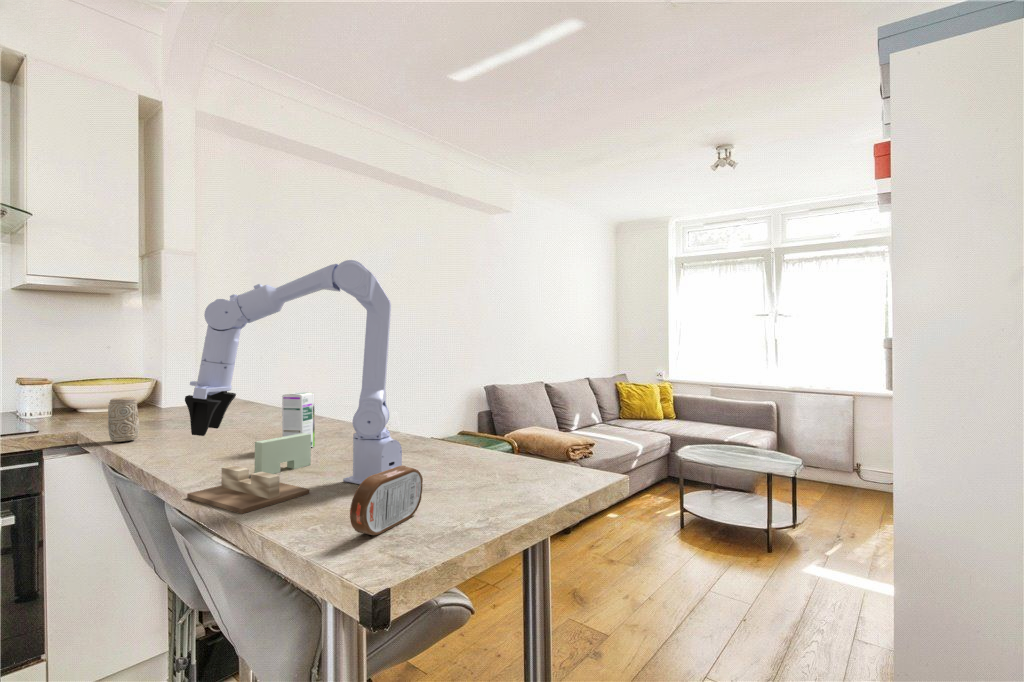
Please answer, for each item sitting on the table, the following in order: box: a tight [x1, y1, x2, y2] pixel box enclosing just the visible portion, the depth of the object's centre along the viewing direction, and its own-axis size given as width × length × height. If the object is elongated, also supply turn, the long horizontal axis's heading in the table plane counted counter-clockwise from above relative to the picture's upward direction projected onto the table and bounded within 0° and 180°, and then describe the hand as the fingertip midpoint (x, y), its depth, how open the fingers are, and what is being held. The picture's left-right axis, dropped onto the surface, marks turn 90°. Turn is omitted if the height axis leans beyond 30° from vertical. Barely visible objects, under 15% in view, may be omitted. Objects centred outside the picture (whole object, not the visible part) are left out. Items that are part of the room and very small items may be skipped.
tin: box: [349, 465, 424, 536], centre depth 77 cm, size 15×3×8 cm, turn 156°
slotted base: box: [186, 464, 311, 515], centre depth 91 cm, size 16×13×4 cm
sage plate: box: [254, 433, 312, 475], centre depth 110 cm, size 12×2×7 cm, turn 150°
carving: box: [107, 396, 140, 443], centre depth 139 cm, size 6×8×12 cm
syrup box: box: [281, 391, 316, 448], centre depth 131 cm, size 6×6×14 cm
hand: (205, 431), depth 97 cm, fingers open, 7 cm apart
